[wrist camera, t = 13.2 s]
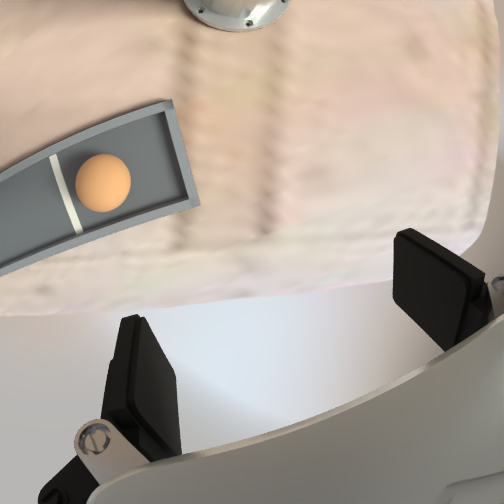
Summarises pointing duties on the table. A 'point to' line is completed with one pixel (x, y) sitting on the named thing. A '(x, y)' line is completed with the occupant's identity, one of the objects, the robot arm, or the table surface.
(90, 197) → the ball
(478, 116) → the table surface
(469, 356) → the robot arm
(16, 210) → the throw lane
